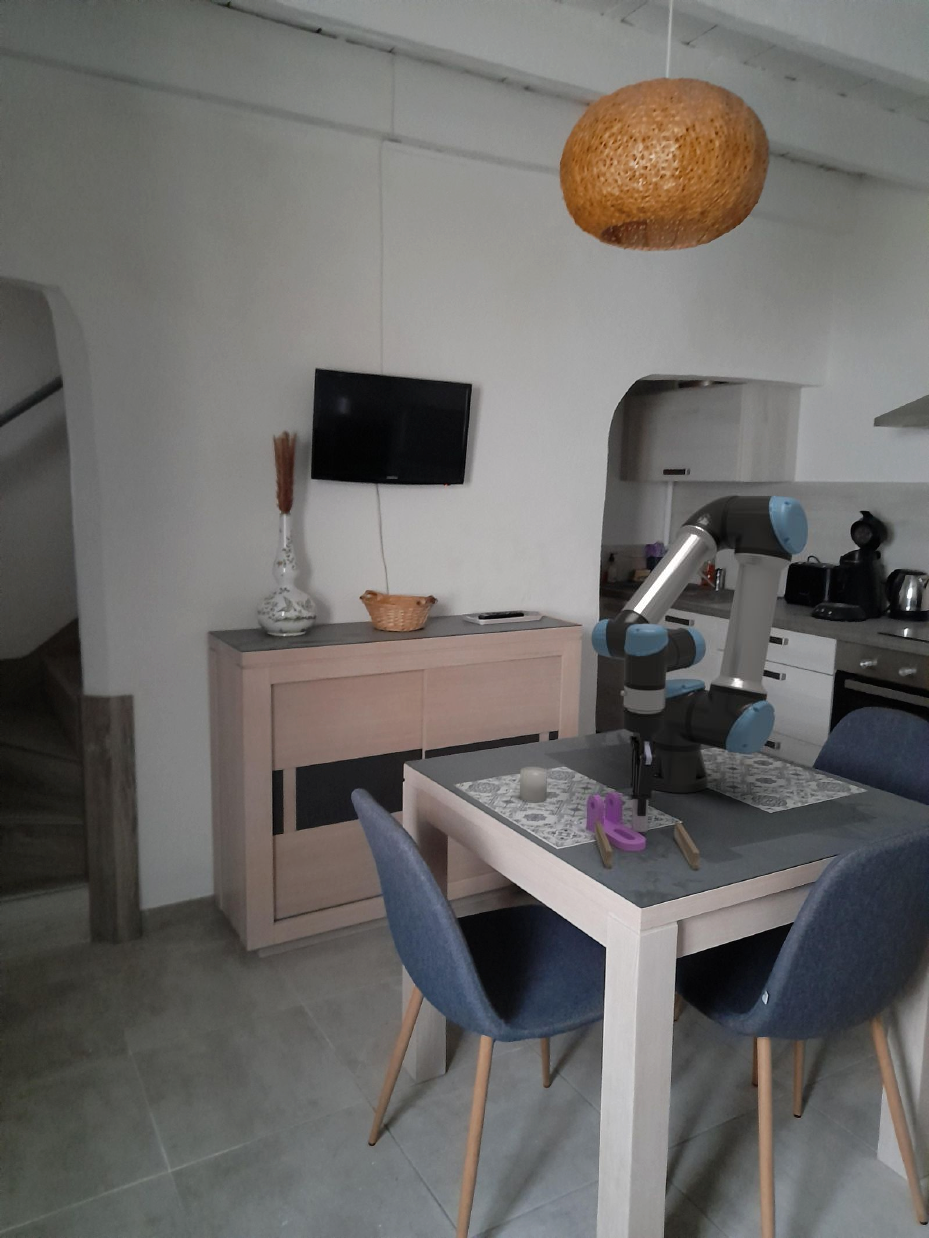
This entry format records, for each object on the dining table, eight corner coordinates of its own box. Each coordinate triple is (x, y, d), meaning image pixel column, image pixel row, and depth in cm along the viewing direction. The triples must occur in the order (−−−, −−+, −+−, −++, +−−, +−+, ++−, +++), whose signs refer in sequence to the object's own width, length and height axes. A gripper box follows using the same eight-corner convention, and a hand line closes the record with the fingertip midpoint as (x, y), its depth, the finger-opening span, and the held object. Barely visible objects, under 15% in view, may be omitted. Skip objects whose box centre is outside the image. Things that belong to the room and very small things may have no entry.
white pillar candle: (545, 794, 189) (546, 766, 188) (547, 803, 183) (548, 775, 182) (519, 793, 189) (519, 766, 188) (520, 802, 183) (521, 774, 182)
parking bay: (679, 837, 166) (680, 822, 166) (698, 869, 152) (699, 852, 152) (594, 836, 166) (594, 820, 166) (605, 867, 152) (606, 851, 152)
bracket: (586, 827, 170) (587, 793, 169) (610, 823, 172) (611, 789, 171) (626, 853, 158) (628, 816, 157) (651, 848, 161) (653, 811, 160)
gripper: (617, 699, 169) (614, 816, 173) (629, 717, 156) (625, 843, 160) (656, 699, 169) (652, 816, 173) (672, 718, 156) (666, 844, 160)
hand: (639, 829), depth 167 cm, fingers closed
